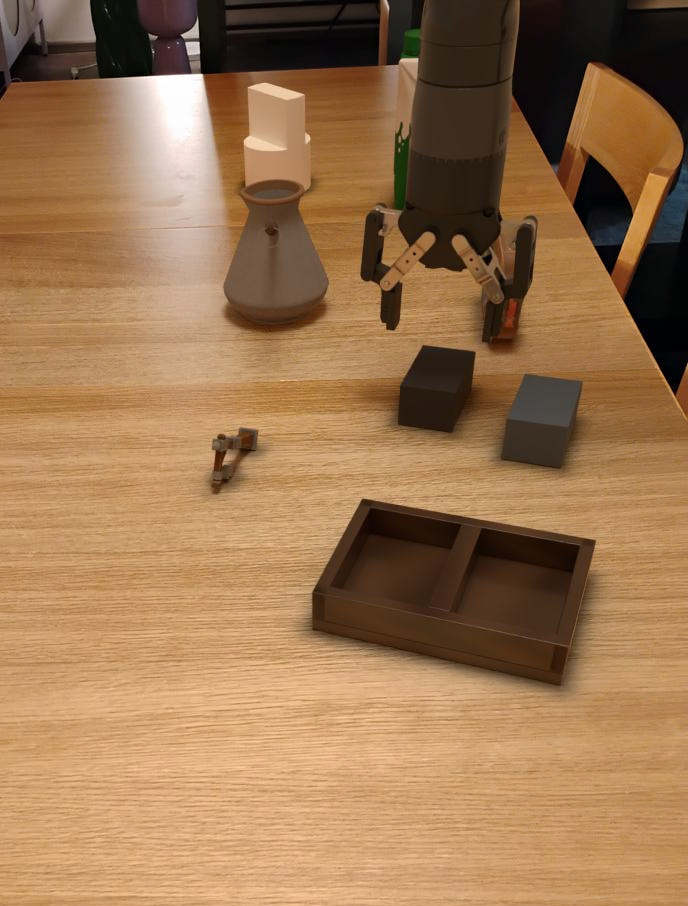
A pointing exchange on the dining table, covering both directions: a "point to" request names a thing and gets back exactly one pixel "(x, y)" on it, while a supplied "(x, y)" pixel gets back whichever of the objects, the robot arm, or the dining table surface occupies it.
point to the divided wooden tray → (456, 588)
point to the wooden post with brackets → (223, 443)
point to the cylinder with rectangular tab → (276, 136)
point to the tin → (512, 305)
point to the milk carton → (404, 113)
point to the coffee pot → (275, 257)
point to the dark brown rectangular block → (436, 388)
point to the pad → (541, 420)
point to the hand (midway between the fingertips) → (439, 332)
